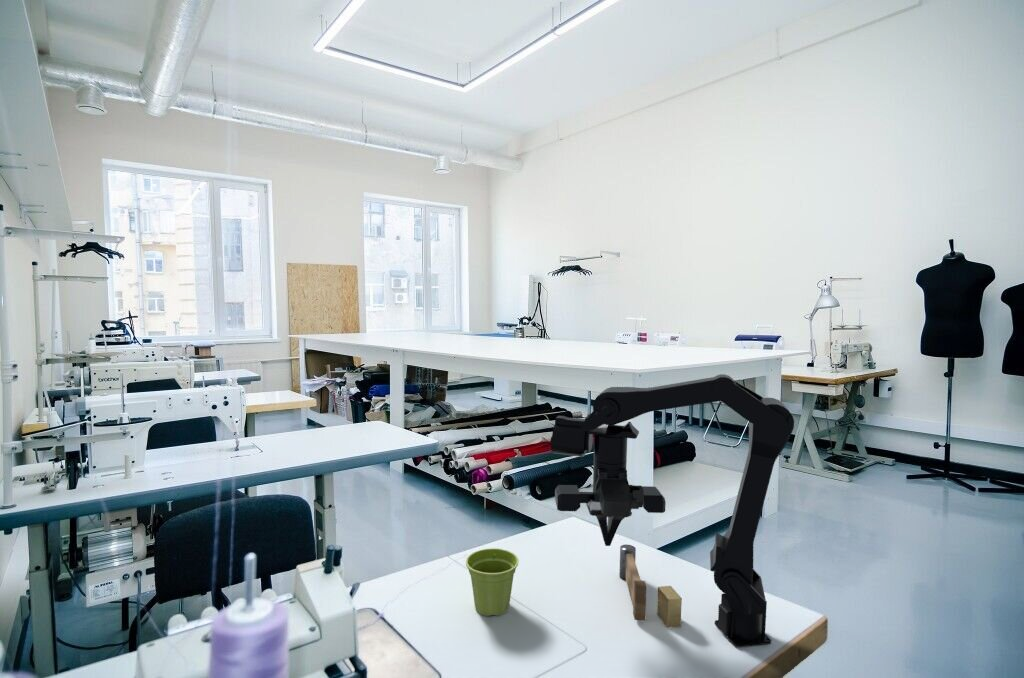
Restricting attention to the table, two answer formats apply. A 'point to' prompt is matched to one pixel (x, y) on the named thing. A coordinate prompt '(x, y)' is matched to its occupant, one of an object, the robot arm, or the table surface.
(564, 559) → the table surface
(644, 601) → the wooden t-bar
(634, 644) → the table surface
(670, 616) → the block
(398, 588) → the table surface
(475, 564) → the plant pot
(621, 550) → the grey metal cylinder
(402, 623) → the table surface
